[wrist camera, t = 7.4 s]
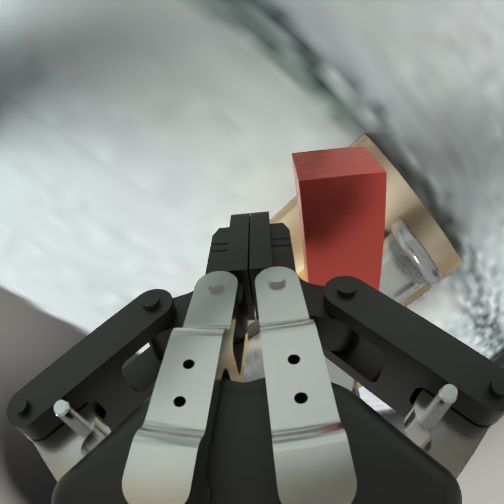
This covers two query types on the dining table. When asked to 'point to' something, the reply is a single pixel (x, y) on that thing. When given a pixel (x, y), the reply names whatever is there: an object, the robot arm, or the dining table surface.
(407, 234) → the valve
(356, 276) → the lever
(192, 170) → the dining table surface
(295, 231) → the mounting board
